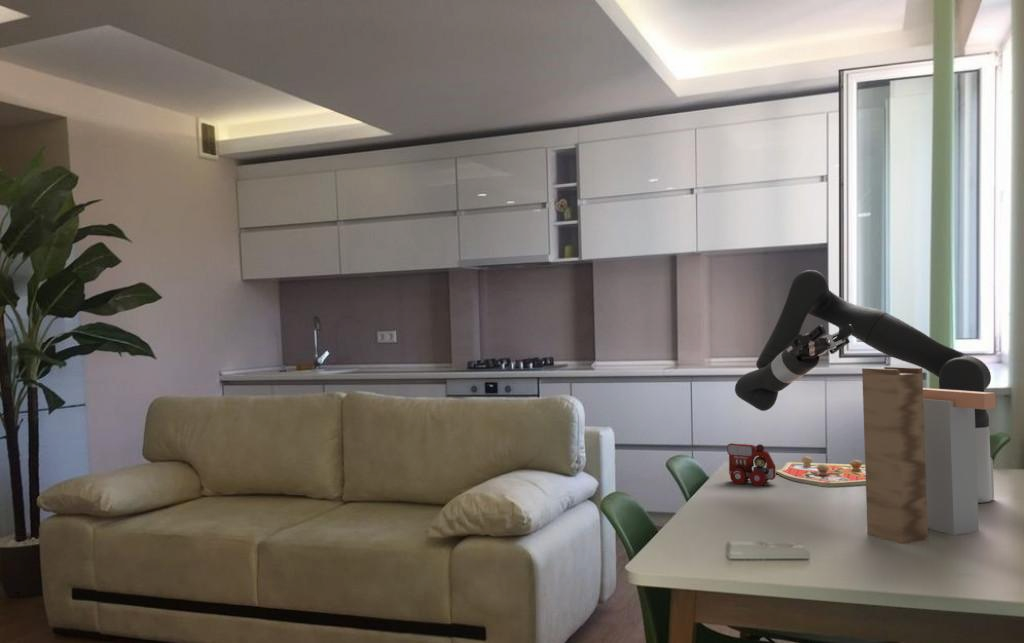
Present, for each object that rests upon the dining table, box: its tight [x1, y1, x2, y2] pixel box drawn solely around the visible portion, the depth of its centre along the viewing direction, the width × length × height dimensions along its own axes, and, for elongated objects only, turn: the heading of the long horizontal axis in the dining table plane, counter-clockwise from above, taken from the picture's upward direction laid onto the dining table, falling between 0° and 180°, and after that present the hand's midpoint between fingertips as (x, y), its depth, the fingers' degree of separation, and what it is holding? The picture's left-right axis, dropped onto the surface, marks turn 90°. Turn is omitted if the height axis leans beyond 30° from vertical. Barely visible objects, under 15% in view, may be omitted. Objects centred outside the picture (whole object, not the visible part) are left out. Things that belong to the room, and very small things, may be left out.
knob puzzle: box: [775, 455, 866, 488], centre depth 212 cm, size 29×30×4 cm
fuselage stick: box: [923, 387, 997, 411], centre depth 158 cm, size 3×22×3 cm, turn 22°
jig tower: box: [861, 366, 929, 545], centre depth 152 cm, size 7×8×33 cm
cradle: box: [923, 399, 980, 536], centre depth 157 cm, size 7×9×26 cm
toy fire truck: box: [726, 442, 777, 487], centre depth 206 cm, size 7×12×10 cm, turn 58°
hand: (837, 328), depth 175 cm, fingers open, 8 cm apart
